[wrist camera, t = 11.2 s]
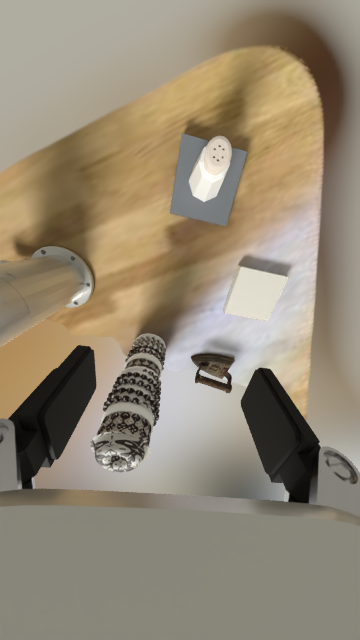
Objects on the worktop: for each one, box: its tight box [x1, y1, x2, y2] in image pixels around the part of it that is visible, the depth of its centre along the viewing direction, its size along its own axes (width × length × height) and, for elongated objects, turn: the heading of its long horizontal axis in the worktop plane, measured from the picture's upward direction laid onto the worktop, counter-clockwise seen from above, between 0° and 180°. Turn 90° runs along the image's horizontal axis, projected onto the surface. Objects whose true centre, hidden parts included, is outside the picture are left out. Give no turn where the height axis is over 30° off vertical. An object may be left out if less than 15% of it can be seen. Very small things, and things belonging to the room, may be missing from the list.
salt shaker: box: [189, 136, 232, 202], centre depth 23 cm, size 5×5×11 cm
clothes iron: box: [191, 354, 234, 393], centre depth 44 cm, size 7×11×10 cm, turn 71°
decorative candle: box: [91, 333, 166, 472], centre depth 33 cm, size 9×9×25 cm
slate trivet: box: [170, 133, 247, 227], centre depth 28 cm, size 10×10×2 cm
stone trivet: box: [223, 265, 289, 321], centre depth 37 cm, size 10×10×2 cm
